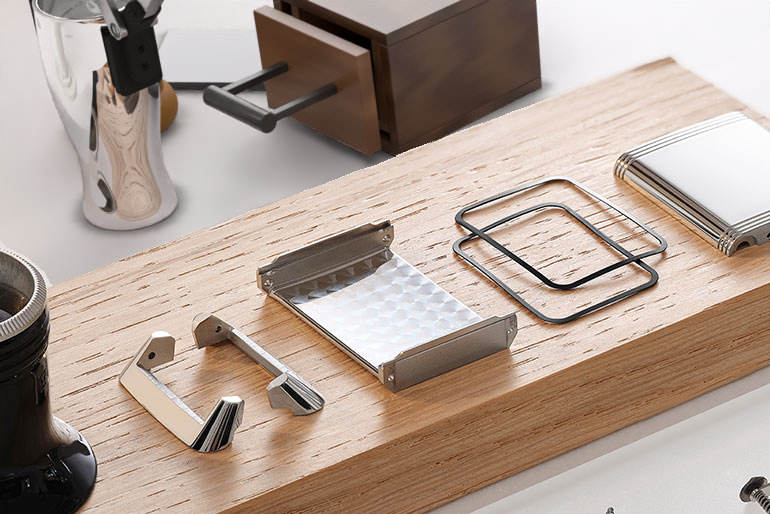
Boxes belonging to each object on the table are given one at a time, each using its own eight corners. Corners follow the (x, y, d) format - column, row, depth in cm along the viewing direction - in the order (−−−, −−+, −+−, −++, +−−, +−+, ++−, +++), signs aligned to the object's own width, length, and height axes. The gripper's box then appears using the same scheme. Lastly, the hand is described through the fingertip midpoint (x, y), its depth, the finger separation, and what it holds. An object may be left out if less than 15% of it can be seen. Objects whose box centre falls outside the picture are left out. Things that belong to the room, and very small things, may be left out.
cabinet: (400, 159, 144) (386, 34, 138) (288, 105, 150) (269, -17, 144) (542, 86, 152) (534, -34, 146) (430, 38, 158) (418, -79, 152)
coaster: (315, 37, 158) (314, 30, 158) (295, 90, 152) (294, 83, 151) (169, 36, 158) (168, 29, 158) (143, 89, 152) (141, 82, 151)
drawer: (292, 194, 138) (276, 93, 134) (190, 143, 144) (172, 44, 139) (502, 89, 150) (494, -8, 145) (401, 45, 155) (390, -50, 150)
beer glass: (98, 245, 135) (50, 31, 126) (61, 199, 140) (12, -11, 130) (201, 214, 138) (161, 3, 129) (161, 170, 143) (120, -38, 133)
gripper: (-99, -228, 123) (-29, 49, 135) (79, -154, 115) (138, 135, 126) (10, -261, 128) (69, 9, 139) (190, -193, 119) (237, 90, 130)
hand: (101, 67), depth 132 cm, fingers closed on beer glass, 7 cm apart
